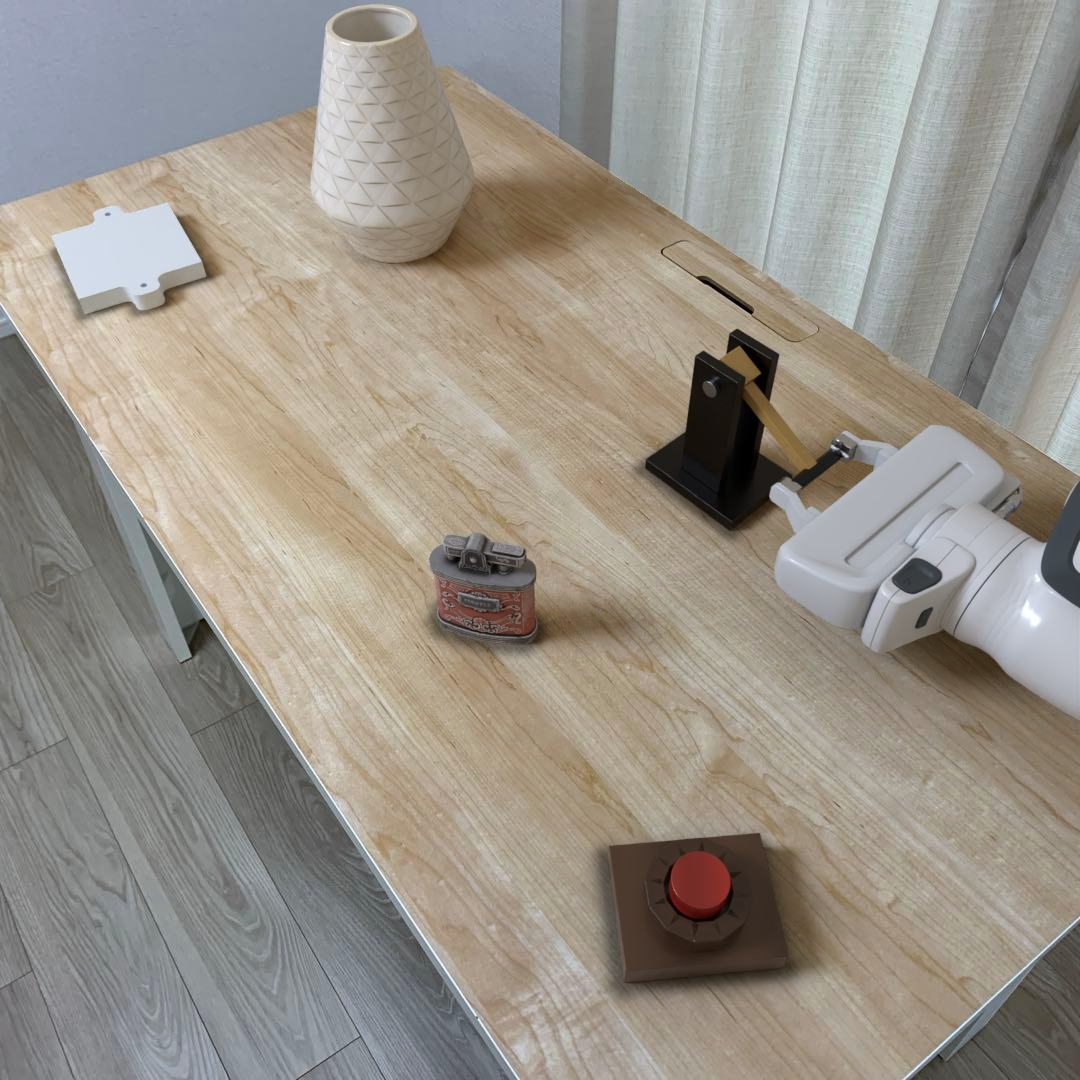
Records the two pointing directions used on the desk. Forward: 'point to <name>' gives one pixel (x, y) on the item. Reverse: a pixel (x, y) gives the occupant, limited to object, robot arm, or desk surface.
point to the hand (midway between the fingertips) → (806, 463)
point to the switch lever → (778, 422)
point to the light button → (699, 885)
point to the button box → (687, 943)
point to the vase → (386, 138)
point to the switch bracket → (722, 439)
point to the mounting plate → (128, 257)
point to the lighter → (485, 589)
